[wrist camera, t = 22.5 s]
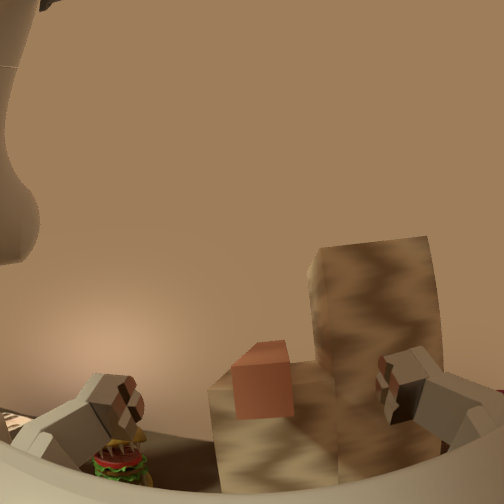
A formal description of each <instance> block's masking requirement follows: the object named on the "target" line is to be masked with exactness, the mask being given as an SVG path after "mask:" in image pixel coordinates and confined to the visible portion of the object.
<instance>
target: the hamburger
mask: <svg viewBox="0 0 504 504" xmlns="http://www.w3.org/2000/svg"><path fill="white" fill-rule="evenodd" d="M137 427H138V426H137ZM146 440H147V438H146V435H145V434H144V432H143V431H142V429H141V428H140V427H138V429H137V432H136V434H135V436H134V439H133V441H123V440H115V439H111V441H110V442H109V443H108V444H107V445H105V446H104V447H103V448H102V449H101V450H99V451H98V452H97V453H96V454H95V455H94V456H93V458H92V460H91V463H94V466H95V474H97V476H98V477H102V478H106V479H110V480H115V481H119V482H124V483H129V484H134V485H140V486H146V487H152V488H153V481H152V479H151V475H150V474H149V473H148V472H147V471H149V469H148V468H147V467H146V466H147V465H146V464H145V462H147V458H146V457H145V455H143V454H142V453H141V452H140V443H141V442H145V441H146ZM134 444H135V446H136V447H137V449H138V450H137V449H135V448H134ZM125 446H130V447H125Z"/></svg>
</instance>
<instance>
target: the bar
mask: <svg viewBox="0 0 504 504" xmlns="http://www.w3.org/2000/svg"><path fill="white" fill-rule="evenodd" d="M231 373H232V382H233V392H234V401H235V410H236V419H237V420H249V419H266V418H278V417H289V416H294V405H293V393H292V381H291V370H290V361H289V356H288V352H287V348H286V343H285V340H279V341H270V342H259V343H256V344H255V345H254V346H253V347H252V348H251V349H250V350H249V351H248V352H247V353H246V354H244V355H243V356H242V357H241V358H240V359H239V360H238V361H237V362H236V363H234V364H233V365H232V366H231Z"/></svg>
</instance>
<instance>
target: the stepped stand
mask: <svg viewBox="0 0 504 504" xmlns="http://www.w3.org/2000/svg"><path fill="white" fill-rule="evenodd" d="M307 281H308V289H309V297H310V306H311V316H312V325H313V335H314V345H315V355H316V360H314V361H307V362H299V363H290V370H291V381H292V393H293V405H294V416H289V417H278V418H266V419H249V420H237V419H236V410H235V401H234V392H233V382H232V373H231V369H230V370H229V371H228V372H226V373H225V374H224V375H223V376H222V377H221V378H220V379H219V380H218V381H217V382H216V383H215V384H214V385H213V386H212V387H210V388H209V389H208V390H207V391H208V400H209V408H210V415H211V423H212V431H213V438H214V445H215V452H216V458H217V465H218V471H219V477H220V483H221V489H222V494H253V493H274V492H286V491H296V490H305V489H313V488H320V487H326V486H332V485H338V484H343V483H348V482H353V481H357V480H362V479H366V478H370V477H374V476H378V475H382V474H386V473H389V472H393V471H396V470H399V469H403V468H406V467H409V466H412V465H415V464H418V463H421V462H424V461H426V460H429V459H432V458H434V457H437V456H440V451H441V441H442V440H441V439H440V438H438V437H437V436H435V435H434V434H432V433H431V432H429V431H428V430H426V429H425V428H423V427H422V426H420V425H419V424H417V423H416V422H415V421H413V420H414V419H413V420H409V421H406V422H402V423H398V424H394V425H389V423H388V421H387V418H386V416H385V414H384V407H385V405H383V404H382V403H380V402H379V400H378V397H377V394H376V386H375V383H376V376H377V375H378V373H379V372H380V370H379V368H378V360H379V357H380V356H382V355H387V354H391V353H395V352H400V351H404V350H408V349H410V348H414V347H418V346H423V347H424V348H425V349H426V351H427V352H428V353H429V355H430V356H431V357H432V358H433V360H434V361H435V362H436V364H437V365H438V366H439V368H440V369H441V370H442V372H443V373H444V369H443V368H444V367H443V347H442V332H441V321H440V311H439V303H438V296H437V288H436V282H435V275H434V269H433V264H432V258H431V253H430V248H429V243H428V238H427V236H422V237H414V238H404V239H396V240H388V241H378V242H370V243H362V244H361V243H360V244H352V245H343V246H334V247H325V248H320V249H319V251H318V253H317V254H316V256H315V258H314V260H313V262H312V264H311V265H310V267H309V269H308V271H307Z"/></svg>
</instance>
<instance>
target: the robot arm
mask: <svg viewBox="0 0 504 504" xmlns="http://www.w3.org/2000/svg"><path fill="white" fill-rule="evenodd" d="M57 1H60V0H41V1H40V9H39V11H40V12H41V11H45V10H47V9H48V8H49V7H50V6H51V4H52V3H53V2H57ZM37 4H38V0H0V65H2V66H14V67H18V65H19V62H20V59H21V56H22V53H23V50H24V47H25V44H26V41H27V37H28V34H29V31H30V28H31V25H32V21H33V18H34V15H35V11H36V8H37ZM16 71H17V68H11V67H1V66H0V265H7V264H13V263H19V262H22V261H23V260H24V259H26V257H27V256H28V255H29V253H30V252H31V251H32V249H33V247H34V245H35V243H36V240H37V237H38V233H39V226H40V216H39V210H38V206H37V203H36V200H35V198H34V196H33V194H32V193H31V191H30V190H29V189H28V188H27V187H26V186H25V185H24V184H23V183H22V182H21V180H20V179H19V178H18V177H17V175H16V173H15V172H14V170H13V168H12V166H11V163H10V161H9V158H8V155H7V151H6V146H5V137H4V128H5V119H6V112H7V106H8V101H9V97H10V92H11V88H12V85H13V81H14V77H15V74H16ZM378 368H379V370H380V372H379V373H378V375H377V376H376V383H375V386H376V394H377V397H378V400H379V402H380V403H382V404H383V405H385V407H384V414H385V416H386V418H387V421H388V423H389V425H394V424H398V423H402V422H406V421H409V420H413V419H414V420H413V421H415V422H416V423H417V424H419V425H420V426H422V427H423V428H425V429H426V430H428V431H429V432H431V433H432V434H434V435H435V436H437V437H438V438H440V439H441V440H443V441H444V442H446V443H447V444H449V445H450V447H449V449H448V451H447V453H445V454H442V455H440V456H437V457H434V458H432V459H429V460H426V461H424V462H421V463H418V464H415V465H412V466H409V467H406V468H403V469H399V470H396V471H393V472H389V473H386V474H382V475H378V476H374V477H370V478H366V479H362V480H357V481H353V482H348V483H343V484H338V485H332V486H326V487H320V488H313V489H305V490H296V491H286V492H274V493H253V494H219V493H198V492H185V491H175V490H167V489H159V488H152V487H146V486H140V485H134V484H129V483H124V482H119V481H115V480H110V479H106V478H102V477H98V476H94V475H91V474H87V473H83V472H82V471H81V470H80V469H79V467H80V466H81V465H83V464H84V463H85V462H86V461H87V460H89V459H90V458H91V457H92V456H93V455H95V454H96V453H97V452H98V451H99V450H101V449H102V448H103V447H104V446H105V445H107V444H108V443H109V442H110V441H111V439H115V440H123V441H133V439H134V436H135V434H136V432H137V429H138V427H137V425H136V423H137V422H138V421H140V420H141V419H142V417H143V414H144V401H143V398H142V396H141V394H140V393H139V392H137V391H136V390H135V388H136V382H135V380H134V378H133V377H131V376H123V375H111V374H99V373H95V374H92V376H91V377H90V378H89V380H88V381H87V383H86V384H85V386H84V387H83V388H82V390H81V391H80V393H79V394H78V396H77V397H76V398H75V400H70V401H68V402H66V403H64V404H62V405H61V406H59V407H57V408H55V409H53V410H51V411H50V412H48V413H46V414H44V415H42V416H40V417H38V418H36V419H34V420H32V421H30V422H28V423H27V424H25V425H24V426H23V427H22V429H21V430H20V432H19V433H18V434H17V436H16V437H15V439H14V440H13V441H12V440H11V437H10V434H9V431H8V428H7V425H6V422H5V419H4V416H3V414H2V413H1V412H0V504H504V394H503V393H501V392H499V391H496V390H493V389H490V388H487V387H485V386H482V385H480V384H477V383H475V382H472V381H469V380H467V379H464V378H462V377H459V376H456V375H454V374H451V373H449V372H445V373H443V372H442V370H441V369H440V368H439V366H438V365H437V364H436V362H435V361H434V360H433V358H432V357H431V356H430V355H429V353H428V352H427V351H426V349H425V348H424V347H423V346H418V347H414V348H410V349H408V350H404V351H400V352H395V353H391V354H387V355H382V356H380V357H379V360H378Z"/></svg>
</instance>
